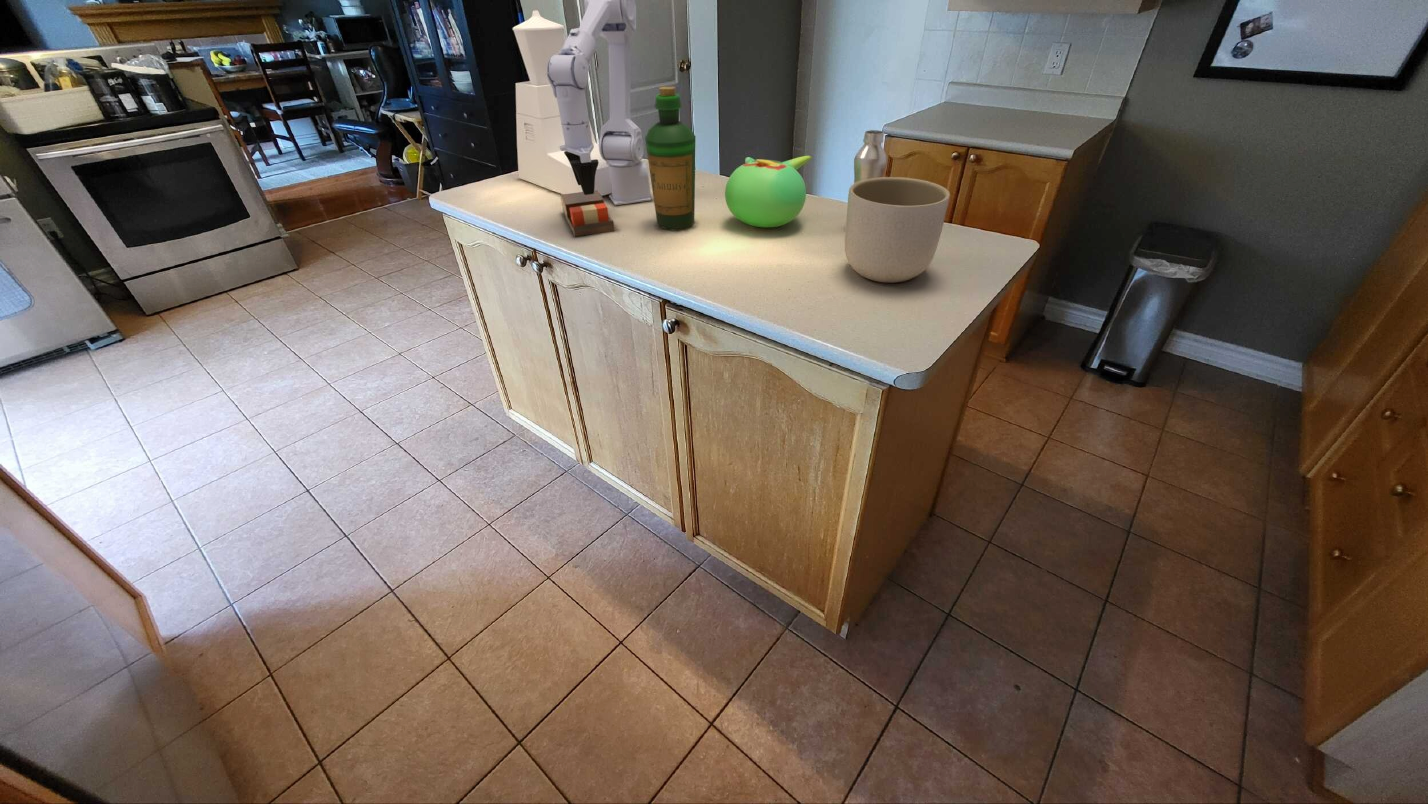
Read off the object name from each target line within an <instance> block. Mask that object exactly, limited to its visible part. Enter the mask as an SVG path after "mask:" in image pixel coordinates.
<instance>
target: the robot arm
mask: <svg viewBox="0 0 1428 804" xmlns="http://www.w3.org/2000/svg"><path fill="white" fill-rule="evenodd" d="M583 3H584V5H583V6H584V15H583V17H582V19H581V22H580V25H579V27H576V28H571V29H570V31H569V34H568V36H567V37H566V41H565V43H564V45H563V47H562V48H561V50H560V52H559V54H558V55H553V56H552V57H551V58H550V59H549V60H548V63H547V78H548V81H549V83H550V85H551V86H552V89H553V94H554V96H555V98H557V101H558V107H559V113H560V118H561V124H562V130H563V136H564V142H565V145H562V146H560V150H561V151H565V152H564V154H565V155H566V157H567V158H568V160H569V162H570V164H571V167H572V169H573V172H574V175H575V178H576V181H577V183H578V185H581V188H582V190H583V193H584V195H589V194H594V188H595V174H596V169H597V167H598V163H599V162H598V160H597V159H596V160H591V157H590V153H591V151H592V150H593V148H594V145H593V143H592V137H591V130H590V124H591V122H590V123H589V121H590V117H589V111H588V104H587V97H586V91H585V90H586V89H585V88H586V86H588V83H589V82H588V81H589V72H590V63H591V61H592V59H593V57H594V55H595V53H596V51H597V44H596V39H597V38H598V36H600V37H602V38H603V39H605V40H606V42H607V43H608V84H609V85H608V88H609V91H608V92H609V98H608V99H609V119H608V120H607V121H606V122H605V123H604V124H603V125H602V126H601V127H600V137H599V141H598V144H599V152H600V155H601V157H602V159H603V160H604V161H606V165H609V171H610V178H611V186H612V193H610V194H608V197H609V198H610V200H611V201H612V203H613V204H614V206H620V205H627V204H635V203H642V202H650V201H652V196H651V186H650V176H649V175H650V174H649V169H648V166H647V163H646V162H645V160H644V161H643V160H642V159H643V157H644V154H645V153H644V151H645V147H644V142H643V133H642V129H641V128H640V127H639V126H638V125H637V124H636V123H634V121H632V119H631V116H632V115H631V113H632V111H631V107H632V105H631V40H632V39H633V38H634V37H635V36H636V35H637V5H636V2H635V0H583ZM620 133H621V134H620Z"/></svg>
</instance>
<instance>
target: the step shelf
mask: <svg viewBox="0 0 1428 804" xmlns="http://www.w3.org/2000/svg"><path fill="white" fill-rule="evenodd" d="M559 197H560V201H561V206H562V212H563V215H564V217H565V219H566V221H567V223H568V225H569V228H570V229H571V231H572V234H573V235H574V237H582V236H588V235H595V234H601V233H609V232H615V224H614V223H615V222H614V220H611V218H610V217H609V221H606V222H599V223H592V224H585V225H578V226H574V225H573V223H572V220H571V214H570V208H571V207H578V206H585V205H592V204H600V203H605V199H604V198H603V196H601V195H600V193H599V192H598V191H597V190H594V194H589V195H584V193H583V192H578V193H570V194H560V196H559Z"/></svg>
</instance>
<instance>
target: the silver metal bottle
mask: <svg viewBox="0 0 1428 804" xmlns="http://www.w3.org/2000/svg"><path fill="white" fill-rule="evenodd" d="M884 134H885V132H884V131H882V130H877V129H874V130H873V129H870V130H865V132H864V136H863V140H862V141H863V145H862V147H860V148H859V150H857V153H856V154H855V157H854V159H853V174H854V176H853V177H854V179H853V184H854V183H856V182H859V181H862V180H866V179H871V178H880V177H884V173H885V169H886V166H887V161H888V159H887V154H886V152H885V149H884V148H883V146H882V143H884V136H885V135H884Z"/></svg>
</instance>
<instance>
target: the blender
mask: <svg viewBox="0 0 1428 804" xmlns="http://www.w3.org/2000/svg"><path fill="white" fill-rule="evenodd" d="M531 13H532V14H531V17H530V18H528V19H527V20H525V21H523V22H521V23H518V24H517V25H515V26H513V27H512V31H513V33H514V36H515V39H516V43H517V45H518V48H519V52H520V54H521V57H522V60H523V64H524V67H525V69H526V74H527V75H528V79H529V80H527V81H521V82H516V83H515V111H516V112H515V119H516V149H517V171H518V173H517V174H518V178H519V179H521V180H524V181H525V182H528V183H532V184H534V185H537V186H539V187H542V188H544V189H547V190H550V191H553V192H555V193H558V194H560V195H563V194H570V193H578V192H583V190H582V188H581V185H578V183H577V181H576V178H575V175H574V172H573V169H572V167H571V164H570V162H569V160H568V158H567V157H566V155H565V154H564V152H565V151H561V150H560V146H562V145H565V142H564V136H563V130H562V124H561V118H560V113H559V107H558V101H557V98H555V96H554V94H553V89H552V86H551V85H550V83H549V81H548V78H547V63H548V60H549V59H550V58H551V57H552V56H553V55H558V54H559V52H560V50H561V48H562V47H563V45H564V43H565V41H566V39H567V37H566V36H565V32H564V31H565V29H564V28H565V26H564V25H563V24H560V23H559V22H555V21H552V20H549V19H546V18H545V17H542V16H541V14H540V12H539V10H536V9H535V10H532V12H531ZM589 123H590V130H591V137H592V143H593V145H594V148H593V150H592V151H591V153H590V157H591V160H596V159H597V160H598V162H599V163H598V167H597V169H596V174H595V188H594V190H597V191H598V192H599V193H600V195H601V196H602V197H603V196H606V195H611V194H612V186H611V178H610V171H609V165H606V161H604V160H603V159H602V157H601V155H600V152H599V143H597V142H596V138H595V135H594V131H593V128H592V124H591V121H590V120H589Z"/></svg>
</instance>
